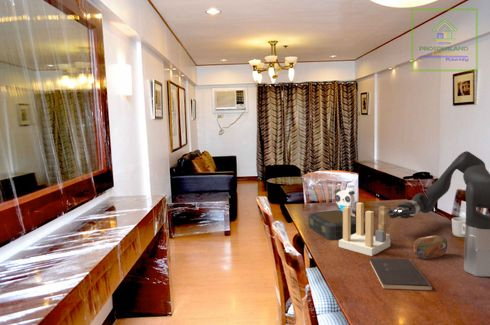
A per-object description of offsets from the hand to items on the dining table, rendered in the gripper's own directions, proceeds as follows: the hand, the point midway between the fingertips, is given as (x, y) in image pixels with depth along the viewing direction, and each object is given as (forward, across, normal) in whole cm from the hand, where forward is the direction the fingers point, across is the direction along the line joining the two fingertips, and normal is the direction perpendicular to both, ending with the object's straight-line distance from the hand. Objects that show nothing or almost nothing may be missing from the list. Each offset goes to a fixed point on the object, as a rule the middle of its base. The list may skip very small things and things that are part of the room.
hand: (391, 216), depth 163 cm
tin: (+6, +20, +12) cm, 24 cm away
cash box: (+4, -28, +13) cm, 31 cm away
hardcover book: (+32, +18, +13) cm, 39 cm away
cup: (-28, +20, +12) cm, 37 cm away
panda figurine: (-26, -42, +12) cm, 51 cm away
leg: (+9, 0, +9) cm, 12 cm away
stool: (+14, -5, +12) cm, 19 cm away
